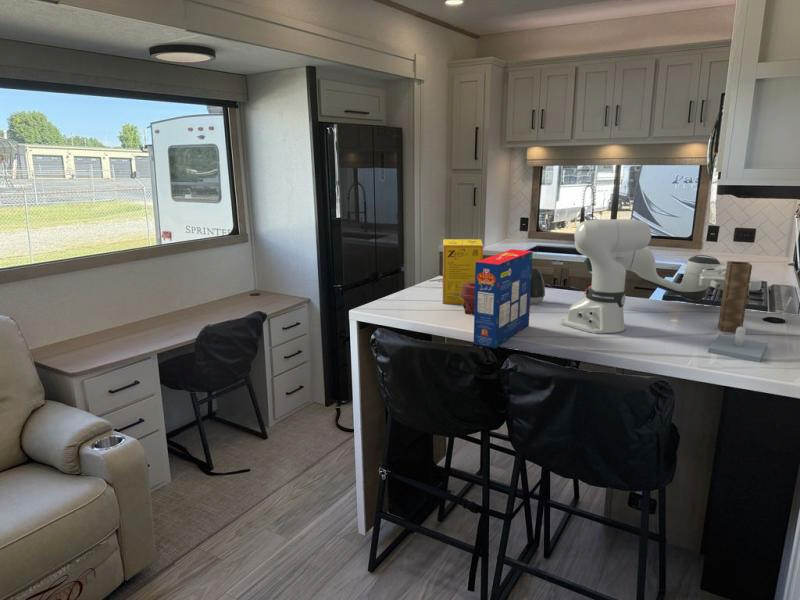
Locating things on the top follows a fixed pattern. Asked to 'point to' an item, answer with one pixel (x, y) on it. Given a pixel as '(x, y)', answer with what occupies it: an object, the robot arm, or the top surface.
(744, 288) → the walnut sleeve
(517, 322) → the blue food box
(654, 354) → the top surface
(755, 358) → the base plate
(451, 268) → the packaging box
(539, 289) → the dark gray domed cylinder
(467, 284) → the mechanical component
